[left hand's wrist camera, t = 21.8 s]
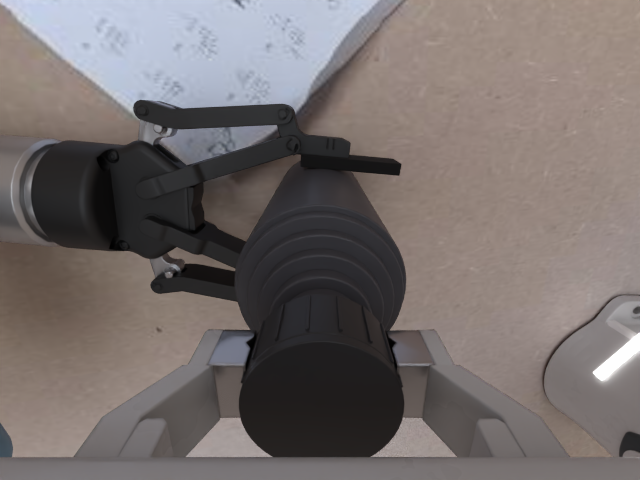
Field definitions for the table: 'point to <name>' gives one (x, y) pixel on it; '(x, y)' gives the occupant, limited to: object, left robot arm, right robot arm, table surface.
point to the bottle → (319, 249)
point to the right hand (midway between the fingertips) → (386, 221)
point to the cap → (321, 381)
